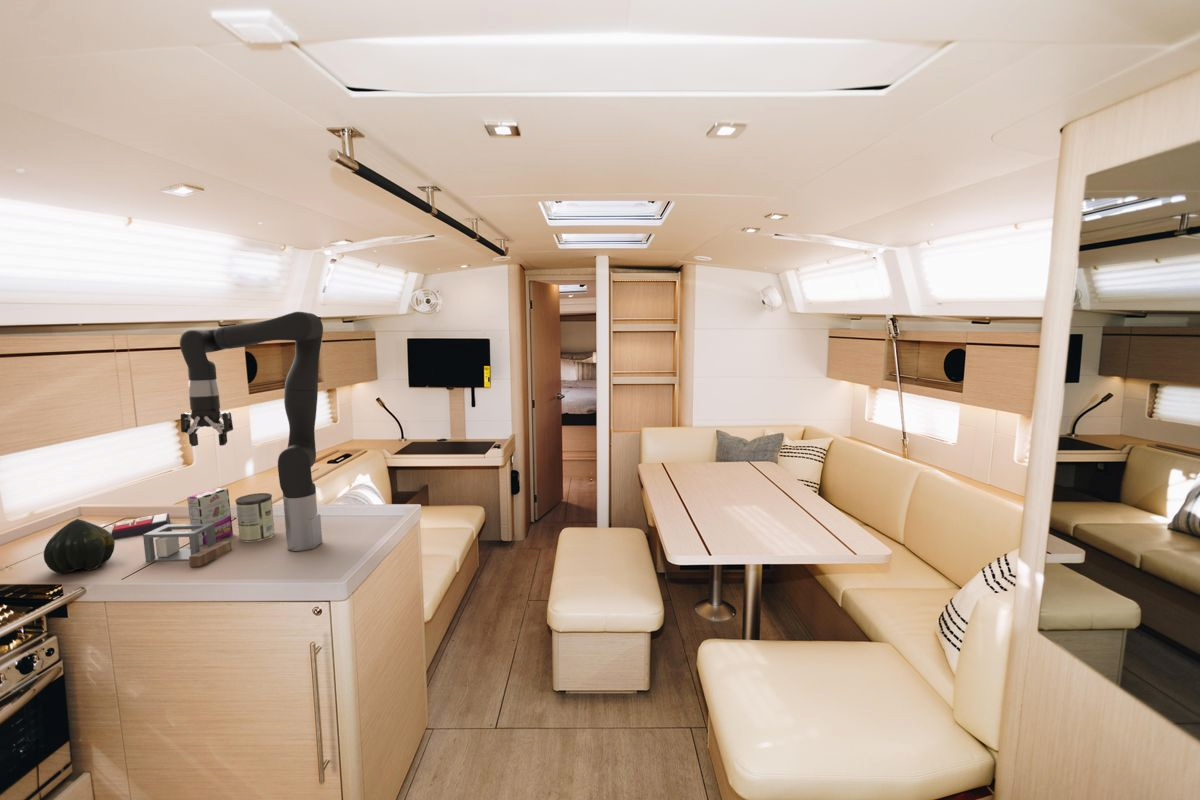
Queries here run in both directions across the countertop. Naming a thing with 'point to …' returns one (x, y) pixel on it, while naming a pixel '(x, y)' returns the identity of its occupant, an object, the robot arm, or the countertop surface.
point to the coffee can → (255, 517)
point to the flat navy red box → (139, 526)
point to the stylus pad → (209, 562)
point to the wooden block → (209, 553)
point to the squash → (78, 547)
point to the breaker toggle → (167, 546)
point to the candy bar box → (211, 512)
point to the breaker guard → (167, 532)
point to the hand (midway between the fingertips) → (208, 445)
